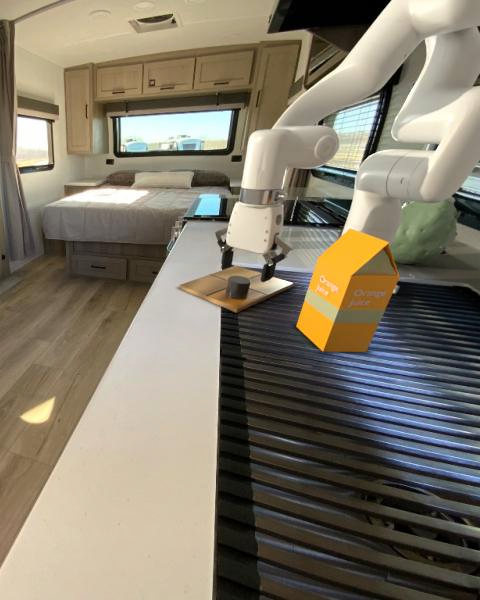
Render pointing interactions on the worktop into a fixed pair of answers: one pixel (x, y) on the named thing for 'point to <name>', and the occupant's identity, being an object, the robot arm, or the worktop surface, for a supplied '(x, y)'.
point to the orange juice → (348, 293)
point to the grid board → (216, 285)
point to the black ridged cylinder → (238, 287)
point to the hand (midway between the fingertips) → (245, 273)
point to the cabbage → (424, 231)
